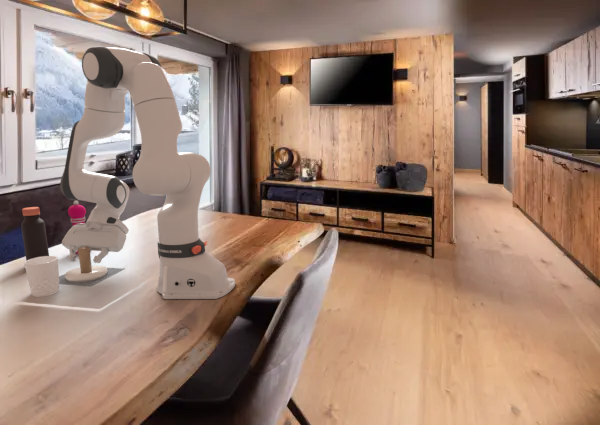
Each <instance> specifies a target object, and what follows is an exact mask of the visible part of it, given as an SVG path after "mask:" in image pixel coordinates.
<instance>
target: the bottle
mask: <svg viewBox="0 0 600 425" xmlns="http://www.w3.org/2000/svg"><path fill="white" fill-rule="evenodd" d="M21 211H22V216H23V218H24V220H23V221H22V222H21V223H20V227H21V234H22V240H23V241H22V242H23V246H24V247H23V248H24V254H25V259H26V260H25V261H27V260H29V259H33V258H37V257H43V256H50V253H49V245H48V239H47V238H48V236H47V229H46V223H45V220H43V219H42V218H40V216H41V211H40V207H39V206H31V207H30V206H29V207H23V208H22V209H21Z"/></svg>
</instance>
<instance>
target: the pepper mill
mask: <svg viewBox="0 0 600 425" xmlns="http://www.w3.org/2000/svg"><path fill="white" fill-rule="evenodd" d="M72 204H73V205H70V206H69V207H68V209H67V214H68V216H69V217H70V222H71V223H72V226H74V225H76V224H77V223H86V222H85V221H86V216H85V215H86V213H87V210H86V208H85V206H83V205H81V204H79V201H78V200H73V203H72ZM90 252H91V250H90ZM77 254H79V253H78V251H77V252H75V255H77Z"/></svg>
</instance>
